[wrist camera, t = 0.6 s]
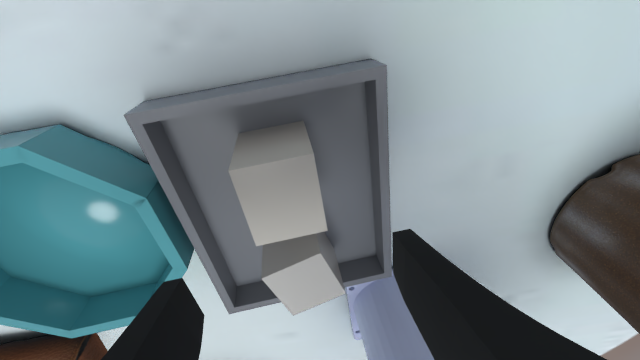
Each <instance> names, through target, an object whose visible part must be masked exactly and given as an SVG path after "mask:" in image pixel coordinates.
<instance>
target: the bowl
mask: <svg viewBox="0 0 640 360" xmlns="http://www.w3.org/2000/svg"><path fill="white" fill-rule="evenodd" d="M193 251H194V247H193V245H192V243H191V241H190V239H189V237H188V235H187V234H186V232H185V230H184V228H183V226H182V224H181V222H180V220H179V218H178V217H177V215H176V213H175V211H174V209H173V207H172V205H171V203H170V201H169V200H168V198H167V196H166V194H165V192H164V190H163V188H162V186H161V184H160V183H159V181H158V179H157V177H156V175H155V173H154V171H153V169H152V168H151V166H150V165H148V164H146V163H144V162H142V161H141V160H139V159H138V158H136V157H135V156H133V155H131V154H129V153H127V152H125V151H123V150H121V149H120V148H118V147H115V146H113V145H110V144H108V143H105V142H103V141H100V140H96V139H93V138H90V137H86V136H84V135H82V134H80V133H78V132H75V131H73V130H71V129H69V128H67V127H64V126H62V125H53V126H48V127H43V128H38V129H32V130H26V131H18V132H11V133H7V134H3V135H0V325H5V326H11V327H16V328H21V329H26V330H31V331H36V332H41V333H47V334H52V335H57V336H62V337H67V338H76V337H80V336H84V335H89V334H93V333H98V332H102V331H106V330H111V329H115V328H120V327H124V326H128V325H129V324H130V323H131V322H132V321H133V319H134V318H135V317H136V316H137V314H138V313H139V312H140V311H141V309H142V308H143V307H144V305H145V304H146V303H147V302H148V300H149V299H150V298H151V297H152V295H153V294H154V293H155V292H156V290H157V289H158V288H159V287H160V286H161V284H162V283H163V282H165V281H170V280H174V279H179V278H182V276H183V275H184V274H185V272H186V271H187V269H188V266H189V263H190V260H191V257H192V254H193Z"/></svg>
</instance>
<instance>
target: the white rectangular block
mask: <svg viewBox="0 0 640 360" xmlns="http://www.w3.org/2000/svg"><path fill="white" fill-rule="evenodd" d="M228 171H229V174H230V177H231V180H232V182H233V185H234V188H235V190H236V193H237V196H238V199H239V201H240V204H241V207H242V209H243V212H244V215H245V217H246V220H247V223H248V226H249V228H250V231H251V234H252V236H253V239H254V242H255V245H256V246H260V245H265V244H269V243H274V242H278V241H283V240H288V239H292V238H297V237H301V236H306V235H310V234H315V233H320V232H324V231H328V230H327V224H326V219H325V213H324V208H323V202H322V197H321V191H320V185H319V180H318V174H317V169H316V163H315V158H314V153H313V149H312V146H311V143H310V140H309V137H308V133H307V130H306V127H305V124H304V121H299V122H294V123H289V124H284V125H279V126H274V127H269V128H264V129H259V130H254V131H248V132H243V133H239V134H238V137H237V141H236V145H235V148H234V152H233V156H232V159H231V163H230V166H229V170H228Z"/></svg>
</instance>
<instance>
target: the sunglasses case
mask: <svg viewBox="0 0 640 360" xmlns="http://www.w3.org/2000/svg"><path fill="white" fill-rule="evenodd" d="M107 352H108V351H107V349H106V348H105V346H104V345H103V343H102V341H101V340H100V338H99V336H98V335H97V333H93V334H89V335H84V336H80V337H76V338H67V337H62V336H57V335H48V336H43V337H36V338H32V339H29V340H25V341H15V342H10V343H5V344H1V345H0V360H101V359H102V358H103V356H104V355H105V354H106V353H107Z"/></svg>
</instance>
